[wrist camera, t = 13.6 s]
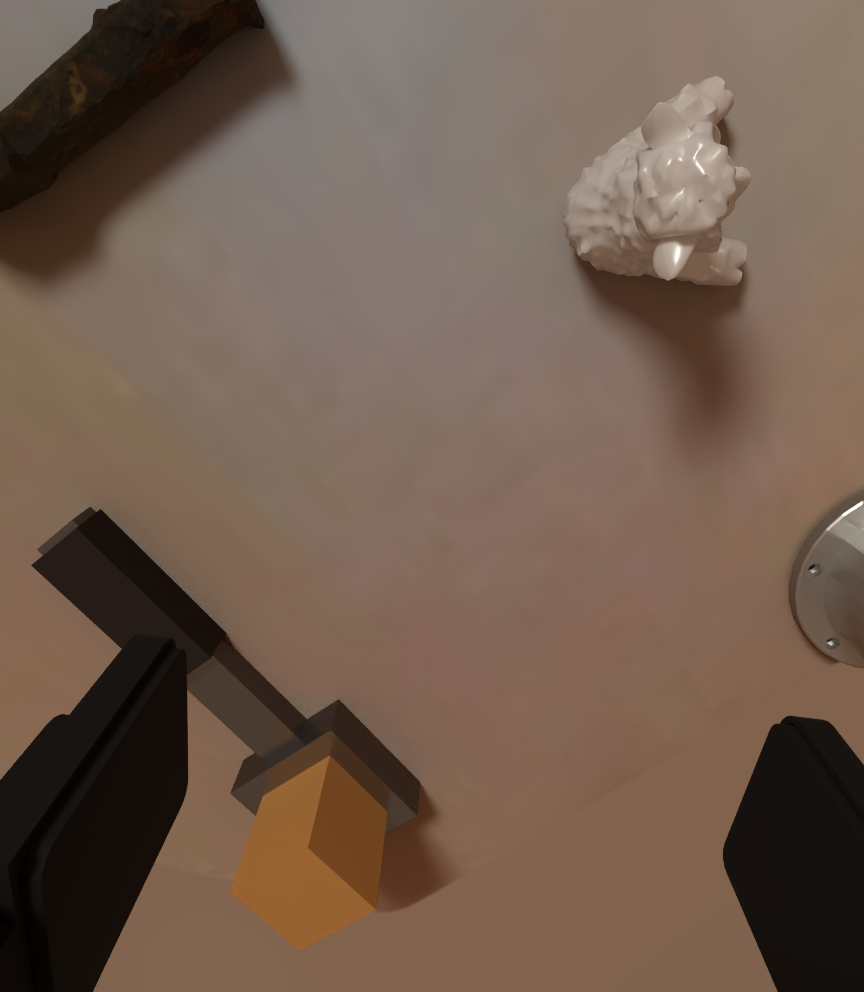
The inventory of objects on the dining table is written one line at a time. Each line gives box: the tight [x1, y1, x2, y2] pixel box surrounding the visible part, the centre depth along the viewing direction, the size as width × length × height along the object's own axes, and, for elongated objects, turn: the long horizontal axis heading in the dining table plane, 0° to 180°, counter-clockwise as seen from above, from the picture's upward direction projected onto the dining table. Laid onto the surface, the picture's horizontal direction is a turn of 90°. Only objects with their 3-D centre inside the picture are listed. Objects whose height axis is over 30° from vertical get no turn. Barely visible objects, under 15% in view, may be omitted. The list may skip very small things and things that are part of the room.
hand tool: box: [0, 0, 264, 212], centre depth 30 cm, size 19×4×5 cm, turn 120°
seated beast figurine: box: [563, 76, 751, 286], centre depth 28 cm, size 10×9×12 cm
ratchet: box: [31, 507, 420, 834], centre depth 42 cm, size 29×9×6 cm, turn 38°
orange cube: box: [230, 756, 387, 950], centre depth 41 cm, size 6×6×7 cm
